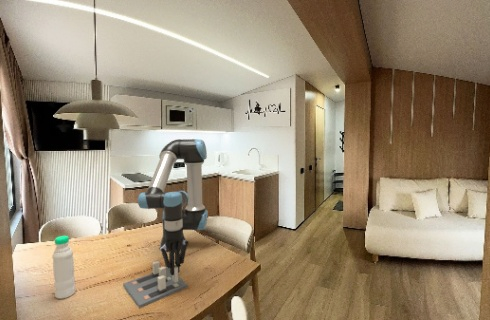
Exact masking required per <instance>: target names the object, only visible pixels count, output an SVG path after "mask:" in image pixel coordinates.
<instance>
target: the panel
mask: <svg viewBox="0 0 490 320" xmlns="http://www.w3.org/2000/svg"><path fill="white" fill-rule="evenodd" d="M152 273H153V272H151V273H149V274H146V275H144V276H140V277H138V278H135V279H132V280H129V281H126V282H124V283H123V284H122V286H123V288H124V289H125V291H126V292H127V294H128V295H129V296H130V298H131V299H132V300H133V302H134V303H135V305H136V306H137V307H138V308H139V309H141V308H143V307H146V306H148V305H150V304H153V303H155V302H157V301H159V300H162V299H164V298H166V297H168V296H171V295H173V294H175V293H177V292H180V291H183V290H184V289H187V288H188V287H189V286H188V284H187V282H185V281H184V280H183V279H182V278H181V277H179V276H178V282H176V283H175V282H174V281H173V280H172V275H171V274H170V268H167V267H166V278H167V281H166V291H164V292H161V293H159V292H158V291H157V289H158V278H157V277H159V275H157V276H155V277H154V276H153V275H152Z"/></svg>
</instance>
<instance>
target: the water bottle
mask: <svg viewBox="0 0 490 320" xmlns="http://www.w3.org/2000/svg"><path fill="white" fill-rule="evenodd" d="M69 242H70V237H69V236H68V235H60V236H57V237H56V238H55V239H54V244H55V249H54V251H53V253H52V257H51V258H52V261H53V262H52V266H53V267H52V268H53V279H54V289H55V290H54V296H55V298H56V299H59V300H61V299H62V300H63V299H66V298H69V297H71V296H72V295H74V294H75V293H76V284H75V281H76V278H75V265H74V263H75V262H74V257H73V254H74V251H73V249H72V248H71V246H70V245H69Z"/></svg>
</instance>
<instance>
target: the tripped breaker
mask: <svg viewBox="0 0 490 320" xmlns="http://www.w3.org/2000/svg"><path fill="white" fill-rule="evenodd" d="M157 278H158V289H157V291H158V292H159V293H161V292H164V291H166V280H165V276H164V275H162V276H160V277H157Z"/></svg>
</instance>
